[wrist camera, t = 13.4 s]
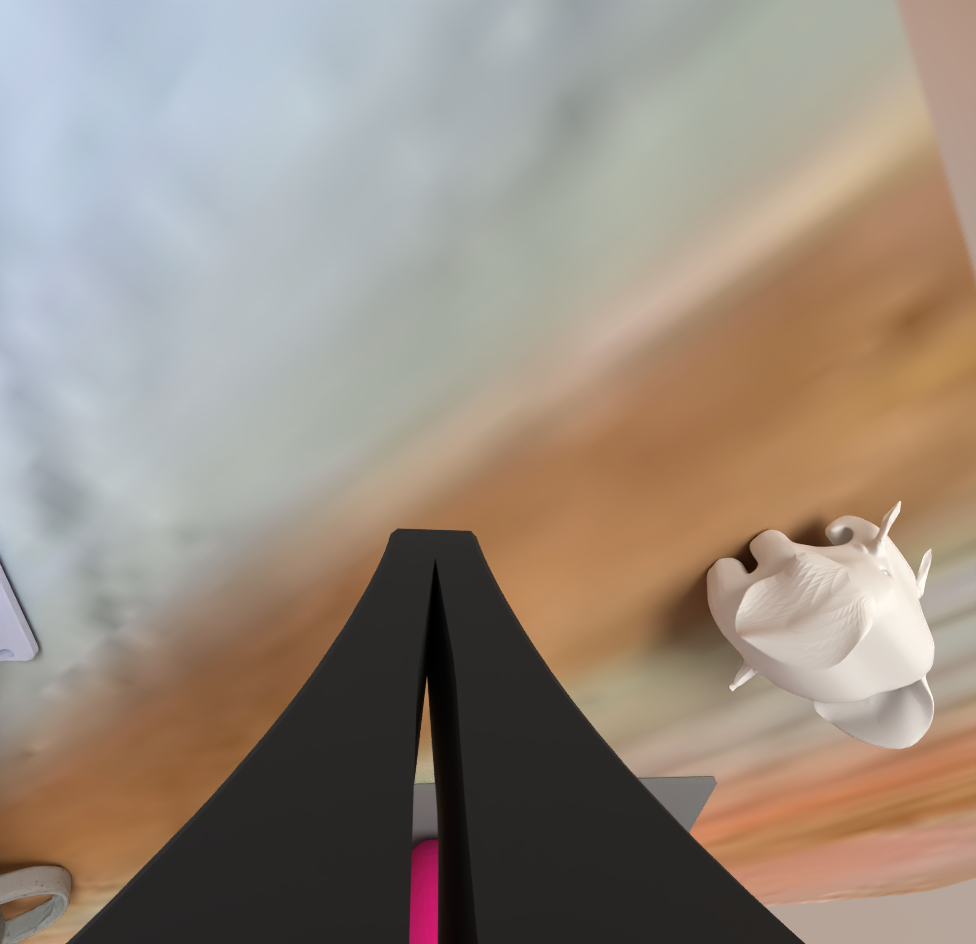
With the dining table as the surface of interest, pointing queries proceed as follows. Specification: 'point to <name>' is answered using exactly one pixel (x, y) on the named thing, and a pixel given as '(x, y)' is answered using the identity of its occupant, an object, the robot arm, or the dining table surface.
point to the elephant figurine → (834, 627)
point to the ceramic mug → (33, 883)
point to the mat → (673, 793)
